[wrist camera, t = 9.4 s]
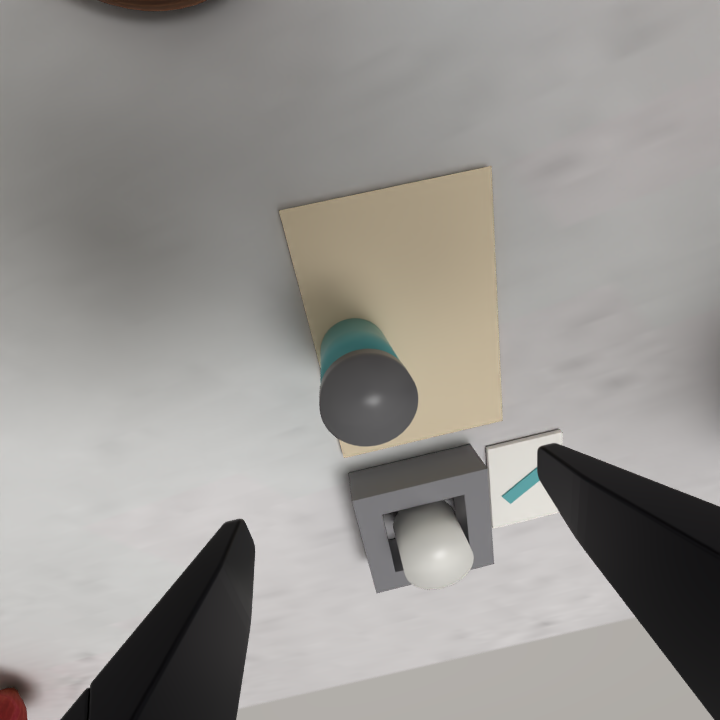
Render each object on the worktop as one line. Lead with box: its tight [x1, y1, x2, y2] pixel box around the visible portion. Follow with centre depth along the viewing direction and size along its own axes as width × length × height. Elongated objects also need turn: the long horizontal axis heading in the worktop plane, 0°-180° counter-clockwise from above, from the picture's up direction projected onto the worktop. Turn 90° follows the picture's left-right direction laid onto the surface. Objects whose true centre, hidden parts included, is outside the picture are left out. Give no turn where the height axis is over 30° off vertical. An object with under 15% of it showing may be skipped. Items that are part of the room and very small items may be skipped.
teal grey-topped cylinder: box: [319, 318, 418, 447], centre depth 15 cm, size 4×4×6 cm
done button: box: [393, 500, 474, 590], centre depth 20 cm, size 4×4×3 cm
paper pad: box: [279, 166, 503, 458], centre depth 18 cm, size 10×14×1 cm
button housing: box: [349, 444, 494, 593], centre depth 22 cm, size 8×8×2 cm
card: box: [486, 429, 563, 529], centre depth 23 cm, size 5×7×1 cm
